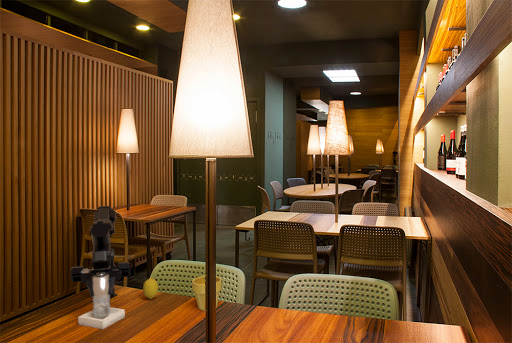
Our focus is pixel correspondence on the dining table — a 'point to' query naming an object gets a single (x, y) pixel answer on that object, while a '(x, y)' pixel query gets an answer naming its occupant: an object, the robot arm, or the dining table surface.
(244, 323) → the dining table surface
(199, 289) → the plant pot
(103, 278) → the metal water bottle
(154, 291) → the lemon
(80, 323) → the serving tray
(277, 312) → the dining table surface
